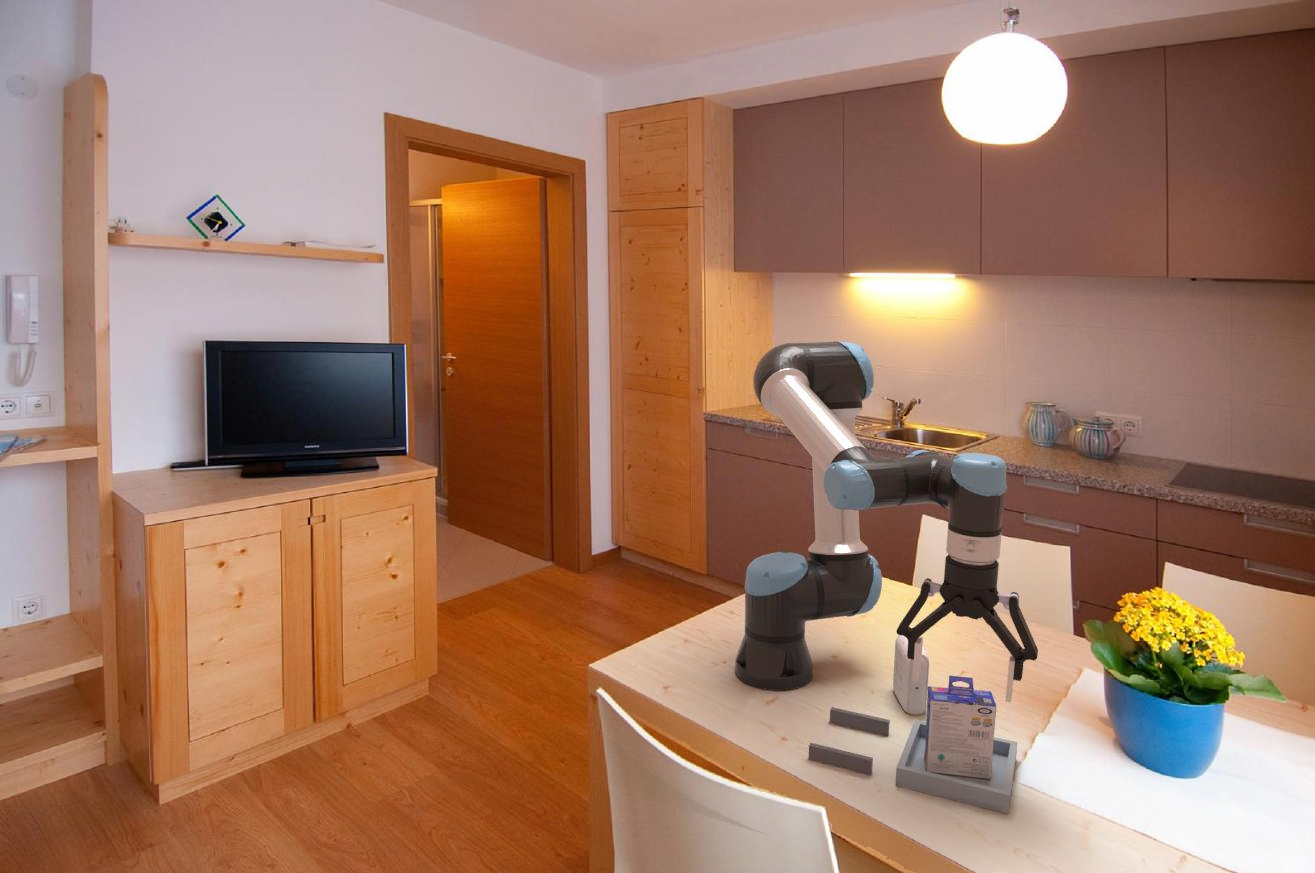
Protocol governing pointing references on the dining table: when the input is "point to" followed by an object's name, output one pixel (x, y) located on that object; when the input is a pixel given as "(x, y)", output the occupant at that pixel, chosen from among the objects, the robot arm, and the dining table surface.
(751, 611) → the robot arm
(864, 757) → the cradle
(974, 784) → the tray
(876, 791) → the dining table surface
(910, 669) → the photo printer
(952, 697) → the ink cartridge box
